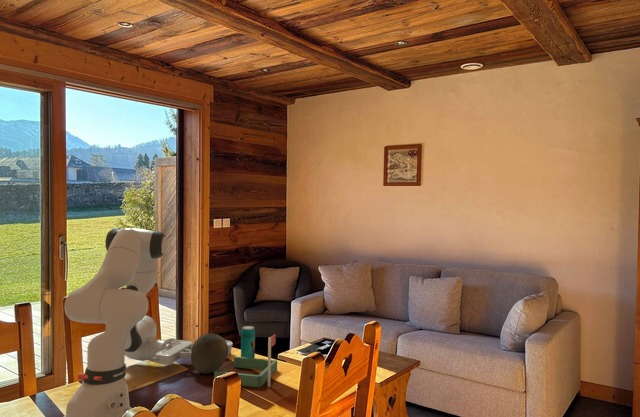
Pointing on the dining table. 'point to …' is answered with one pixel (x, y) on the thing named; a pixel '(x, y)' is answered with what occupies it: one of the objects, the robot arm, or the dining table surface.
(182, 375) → the dining table surface
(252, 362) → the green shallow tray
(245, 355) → the beverage can
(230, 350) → the ramekin
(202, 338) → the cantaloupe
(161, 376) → the dining table surface
